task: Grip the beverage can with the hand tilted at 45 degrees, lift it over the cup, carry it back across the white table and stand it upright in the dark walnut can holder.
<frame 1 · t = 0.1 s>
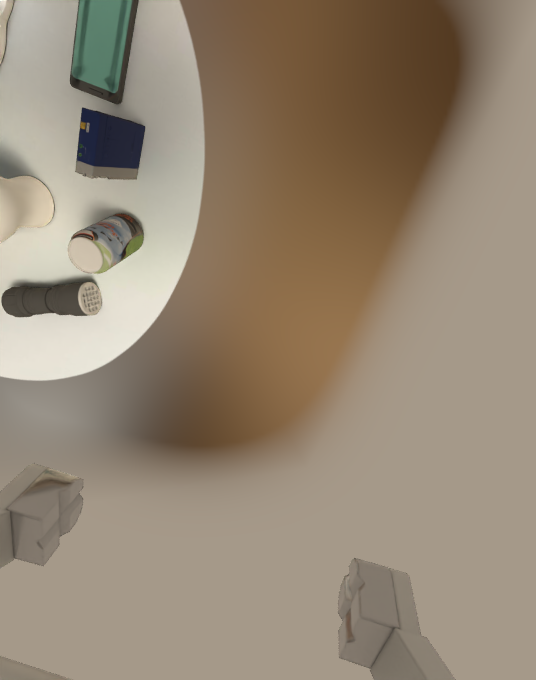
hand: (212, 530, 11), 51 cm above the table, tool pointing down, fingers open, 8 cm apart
blue rectangular block: (134, 151, 57), on the table
cup: (32, 202, 62), on the table
smartphone: (106, 34, 51), on the table
beverage can: (128, 236, 62), on the table
flashlight: (63, 295, 67), on the table
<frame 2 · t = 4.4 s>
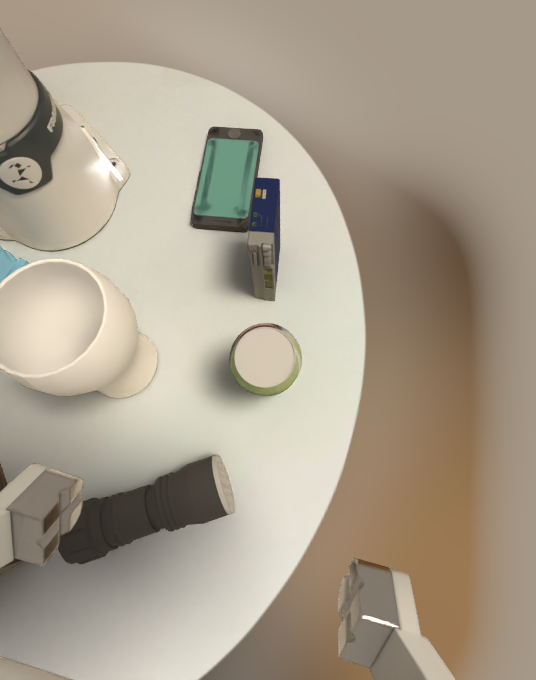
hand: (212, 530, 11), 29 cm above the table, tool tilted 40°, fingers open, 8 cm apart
blue rectangular block: (267, 272, 46), on the table
cup: (123, 363, 43), on the table
smartphone: (228, 181, 50), on the table
beverage can: (269, 375, 42), on the table
flashlight: (160, 504, 39), on the table
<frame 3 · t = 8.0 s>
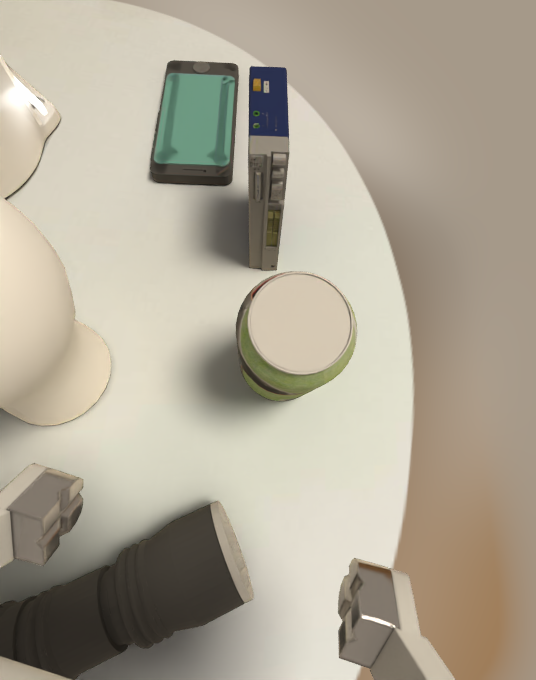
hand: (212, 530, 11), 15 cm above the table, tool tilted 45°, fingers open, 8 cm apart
blue rectangular block: (262, 234, 34), on the table
cup: (58, 372, 28), on the table
smartphone: (197, 125, 38), on the table
beverage can: (280, 373, 29), on the table
flashlight: (126, 594, 24), on the table
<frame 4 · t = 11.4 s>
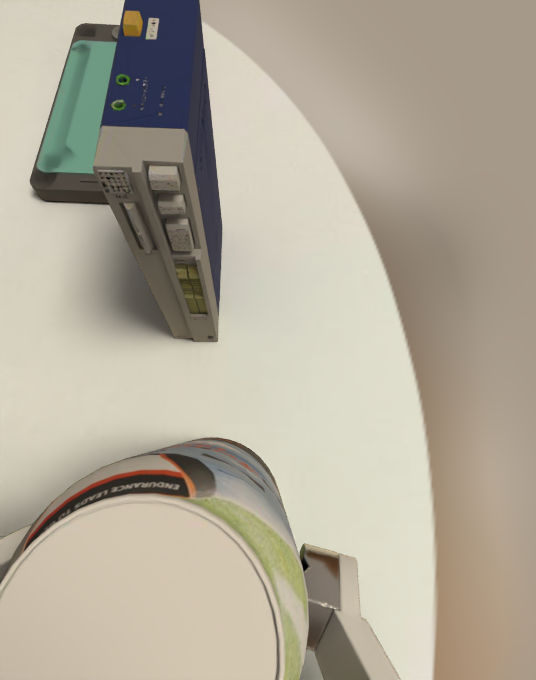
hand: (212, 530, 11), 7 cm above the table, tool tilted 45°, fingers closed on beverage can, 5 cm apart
blue rectangular block: (200, 282, 22), on the table
smartphone: (116, 116, 26), on the table
beverage can: (214, 526, 17), on the table, touching gripper
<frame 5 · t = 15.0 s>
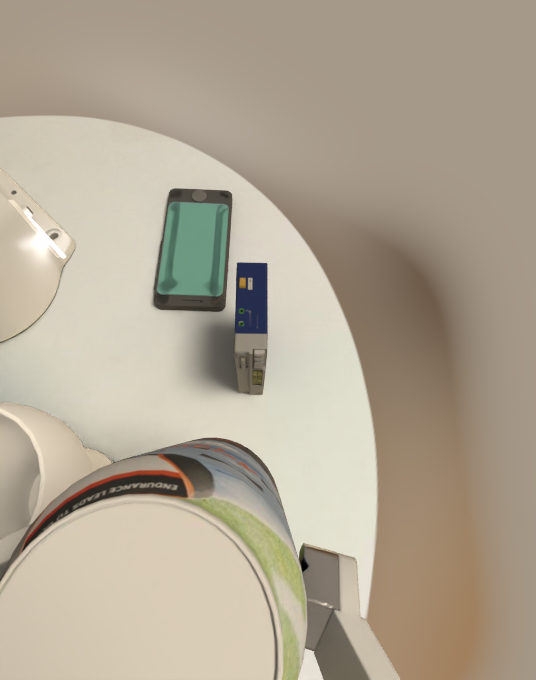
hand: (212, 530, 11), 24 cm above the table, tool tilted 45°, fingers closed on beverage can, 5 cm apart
blue rectangular block: (251, 359, 39), on the table
cup: (75, 494, 33), on the table
smartphone: (195, 250, 43), on the table
beverage can: (213, 526, 17), point 17 cm above the table, touching gripper
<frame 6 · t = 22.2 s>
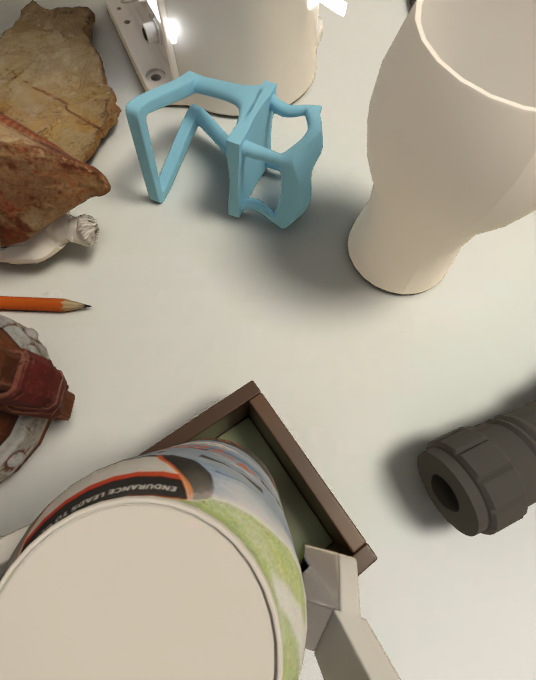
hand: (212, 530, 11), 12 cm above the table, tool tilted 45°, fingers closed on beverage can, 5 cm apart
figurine: (0, 230, 29), on the table, touching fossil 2
cup: (397, 250, 29), on the table
can holder: (228, 520, 22), on the table
beverage can: (213, 526, 17), point 5 cm above the table, touching gripper
fossil: (74, 3, 31), point 5 cm above the table
flashlight: (523, 439, 25), on the table
chair: (164, 122, 28), point 4 cm above the table
when the fingers open (7 cm above the table, at t = 24.0 s): beverage can stays where it is, resting on can holder.
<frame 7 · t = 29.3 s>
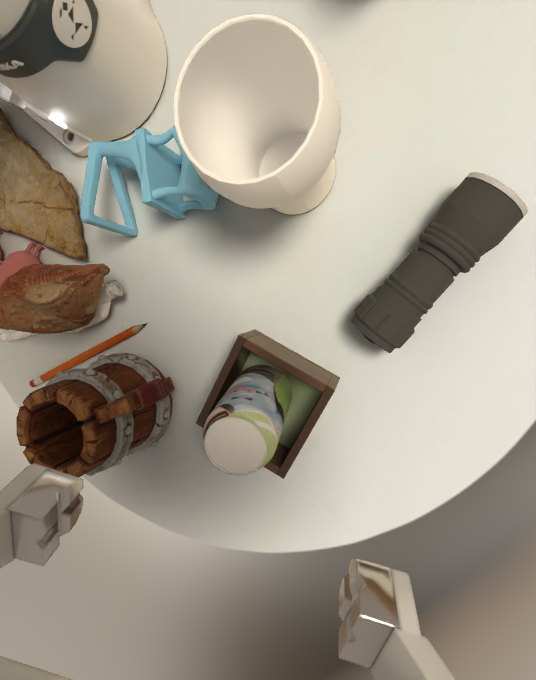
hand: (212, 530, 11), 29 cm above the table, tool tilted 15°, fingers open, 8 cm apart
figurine: (76, 304, 46), on the table, touching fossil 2
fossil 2: (18, 340, 38), point 9 cm above the table, touching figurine
cup: (295, 173, 38), on the table
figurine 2: (19, 237, 47), on the table
pencil: (88, 360, 46), on the table
can holder: (274, 393, 41), on the table
beverage can: (269, 395, 41), point 1 cm above the table, touching can holder
mug: (144, 393, 45), on the table
flashlight: (426, 269, 36), on the table
chair: (101, 189, 39), point 4 cm above the table
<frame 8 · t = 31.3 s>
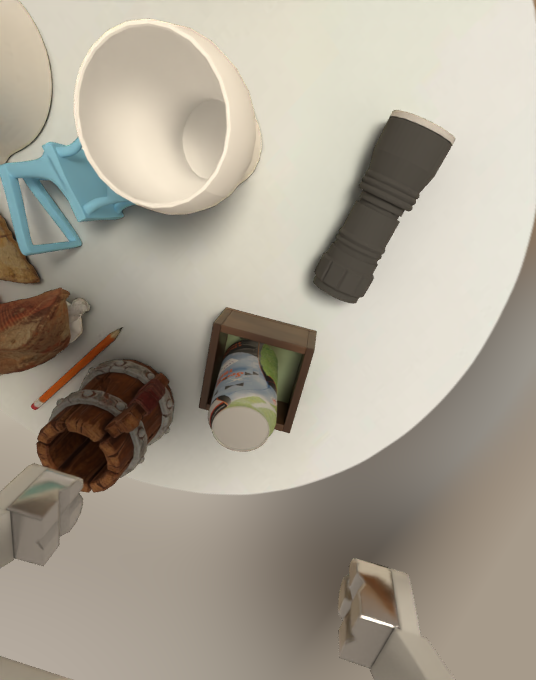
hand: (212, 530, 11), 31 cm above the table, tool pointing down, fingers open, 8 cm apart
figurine: (47, 326, 47), on the table, touching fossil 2
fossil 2: (8, 383, 39), point 9 cm above the table, touching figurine
cup: (221, 143, 36), on the table
pencil: (79, 373, 48), on the table
can holder: (261, 359, 44), on the table
beverage can: (257, 362, 43), point 1 cm above the table, touching can holder
mug: (142, 388, 48), on the table
flashlight: (372, 211, 36), on the table
chair: (29, 211, 38), point 4 cm above the table
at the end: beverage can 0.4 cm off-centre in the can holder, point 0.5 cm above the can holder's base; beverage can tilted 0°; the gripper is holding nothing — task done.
